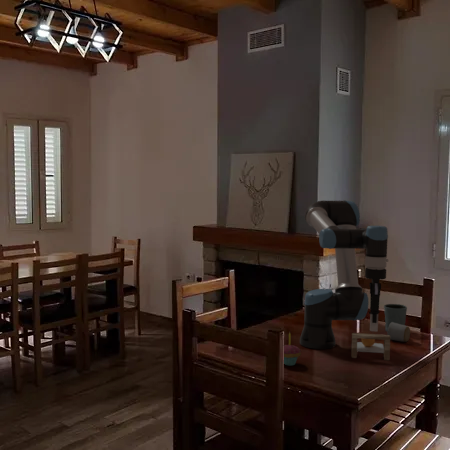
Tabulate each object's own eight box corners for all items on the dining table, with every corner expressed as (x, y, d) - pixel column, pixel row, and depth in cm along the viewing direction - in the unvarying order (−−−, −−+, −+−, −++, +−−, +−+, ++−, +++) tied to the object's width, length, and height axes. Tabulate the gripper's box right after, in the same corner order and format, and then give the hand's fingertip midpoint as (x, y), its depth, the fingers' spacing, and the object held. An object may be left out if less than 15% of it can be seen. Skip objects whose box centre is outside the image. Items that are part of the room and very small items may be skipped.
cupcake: (277, 359, 211) (278, 329, 211) (299, 360, 211) (300, 330, 210) (279, 367, 203) (279, 335, 202) (301, 367, 203) (302, 336, 202)
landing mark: (352, 351, 224) (352, 350, 224) (351, 342, 237) (351, 341, 237) (385, 353, 221) (385, 352, 221) (382, 344, 234) (382, 343, 234)
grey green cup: (410, 332, 254) (411, 307, 253) (396, 335, 249) (396, 309, 248) (393, 327, 263) (393, 302, 262) (378, 330, 257) (379, 305, 256)
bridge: (389, 360, 212) (390, 337, 212) (351, 357, 215) (352, 334, 215) (388, 357, 215) (389, 335, 215) (351, 355, 218) (351, 332, 217)
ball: (361, 345, 233) (361, 347, 228) (361, 332, 233) (361, 334, 228) (374, 345, 232) (375, 348, 227) (374, 333, 232) (375, 335, 227)
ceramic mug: (405, 344, 235) (405, 326, 234) (386, 340, 239) (387, 323, 239) (412, 339, 243) (413, 322, 243) (394, 336, 248) (395, 319, 247)
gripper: (388, 270, 193) (385, 336, 194) (384, 265, 205) (382, 326, 207) (366, 270, 194) (364, 334, 196) (364, 264, 207) (362, 325, 209)
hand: (373, 330), depth 201 cm, fingers closed
